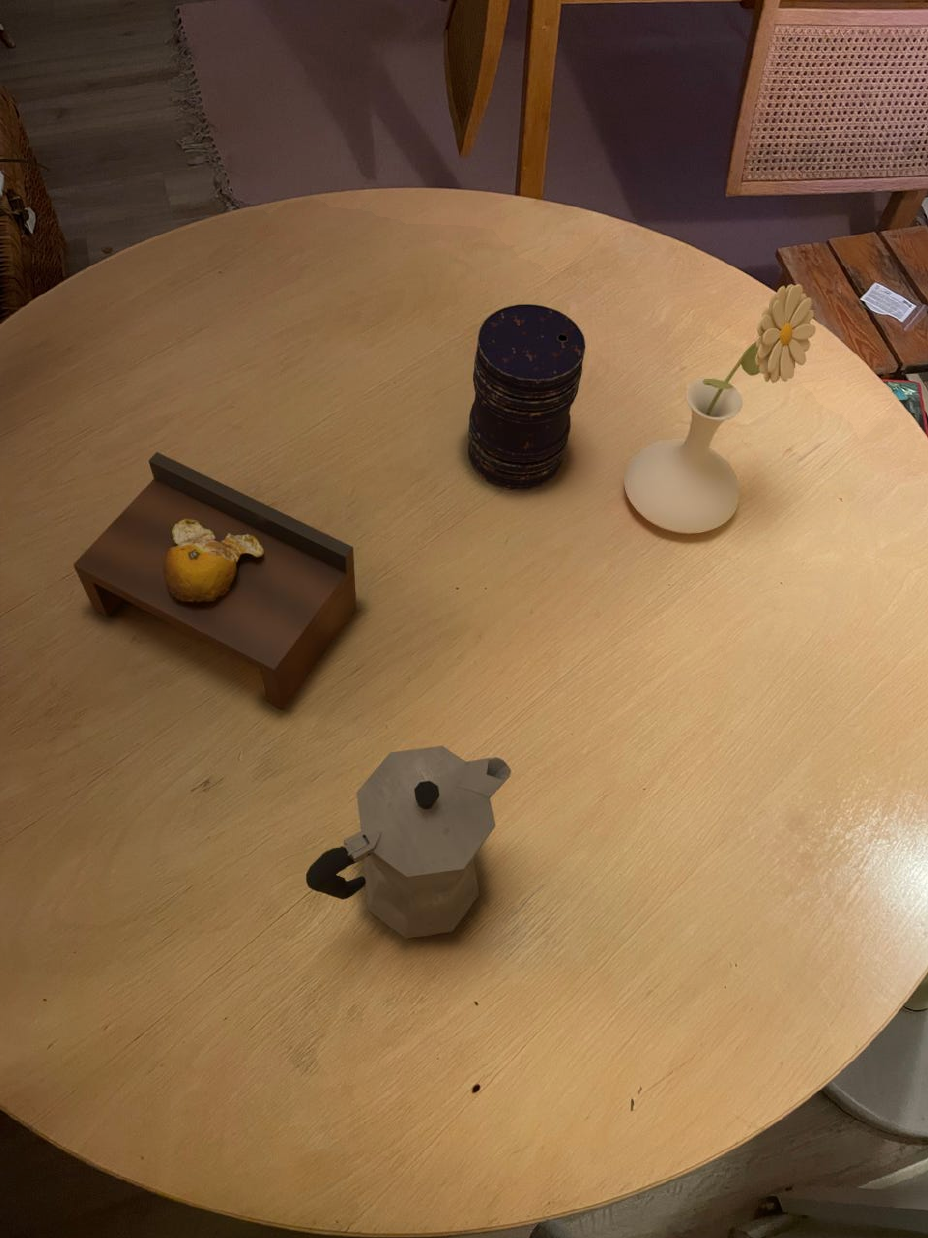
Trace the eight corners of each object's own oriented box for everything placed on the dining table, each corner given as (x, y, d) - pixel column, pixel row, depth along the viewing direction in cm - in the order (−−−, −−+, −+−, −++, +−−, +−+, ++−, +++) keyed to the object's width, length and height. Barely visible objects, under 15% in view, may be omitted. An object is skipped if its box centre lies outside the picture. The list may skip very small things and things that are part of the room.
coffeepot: (460, 792, 85) (475, 688, 70) (524, 889, 81) (554, 801, 66) (291, 887, 80) (267, 797, 65) (350, 996, 76) (339, 927, 61)
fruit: (271, 540, 89) (266, 514, 86) (236, 619, 84) (230, 594, 81) (179, 519, 89) (171, 492, 86) (140, 596, 85) (130, 570, 82)
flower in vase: (656, 557, 99) (728, 363, 78) (600, 471, 104) (653, 268, 83) (770, 517, 102) (869, 321, 81) (710, 436, 108) (788, 232, 86)
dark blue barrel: (477, 496, 102) (489, 387, 89) (457, 422, 107) (465, 308, 94) (575, 484, 103) (600, 374, 90) (550, 411, 108) (571, 298, 96)
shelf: (282, 710, 88) (271, 654, 80) (93, 609, 92) (65, 547, 84) (356, 608, 94) (353, 546, 86) (175, 517, 98) (156, 451, 90)
